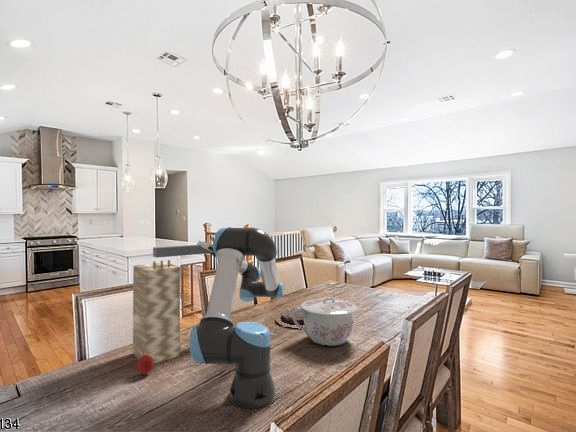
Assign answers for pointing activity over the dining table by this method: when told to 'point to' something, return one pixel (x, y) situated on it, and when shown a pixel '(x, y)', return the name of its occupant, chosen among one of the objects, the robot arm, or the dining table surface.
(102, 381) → the dining table surface
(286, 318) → the chocolate cake
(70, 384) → the dining table surface
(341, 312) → the chamber pot
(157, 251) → the bar
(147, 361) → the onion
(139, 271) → the shelf stand
